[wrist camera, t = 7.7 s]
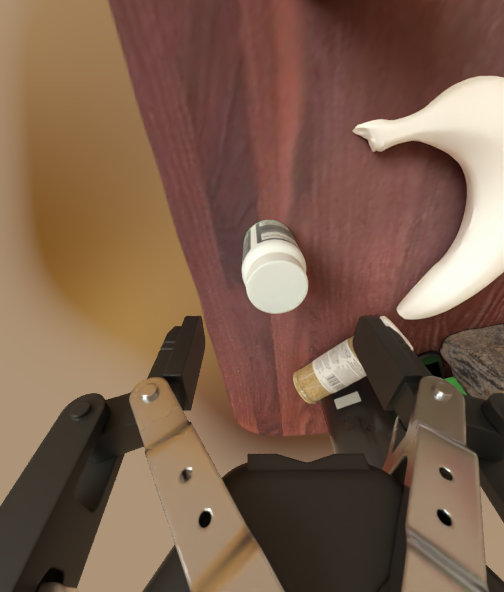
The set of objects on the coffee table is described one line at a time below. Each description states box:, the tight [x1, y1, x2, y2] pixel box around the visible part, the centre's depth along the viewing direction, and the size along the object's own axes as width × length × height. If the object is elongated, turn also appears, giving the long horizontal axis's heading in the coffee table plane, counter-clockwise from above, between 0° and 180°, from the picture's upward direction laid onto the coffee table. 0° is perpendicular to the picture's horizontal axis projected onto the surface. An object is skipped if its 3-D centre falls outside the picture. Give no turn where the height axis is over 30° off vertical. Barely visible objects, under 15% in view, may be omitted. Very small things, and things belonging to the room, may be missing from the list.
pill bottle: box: [242, 220, 308, 314], centre depth 18 cm, size 5×5×8 cm
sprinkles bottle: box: [293, 316, 413, 404], centre depth 27 cm, size 5×5×13 cm
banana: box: [353, 76, 504, 319], centre depth 19 cm, size 5×19×15 cm
